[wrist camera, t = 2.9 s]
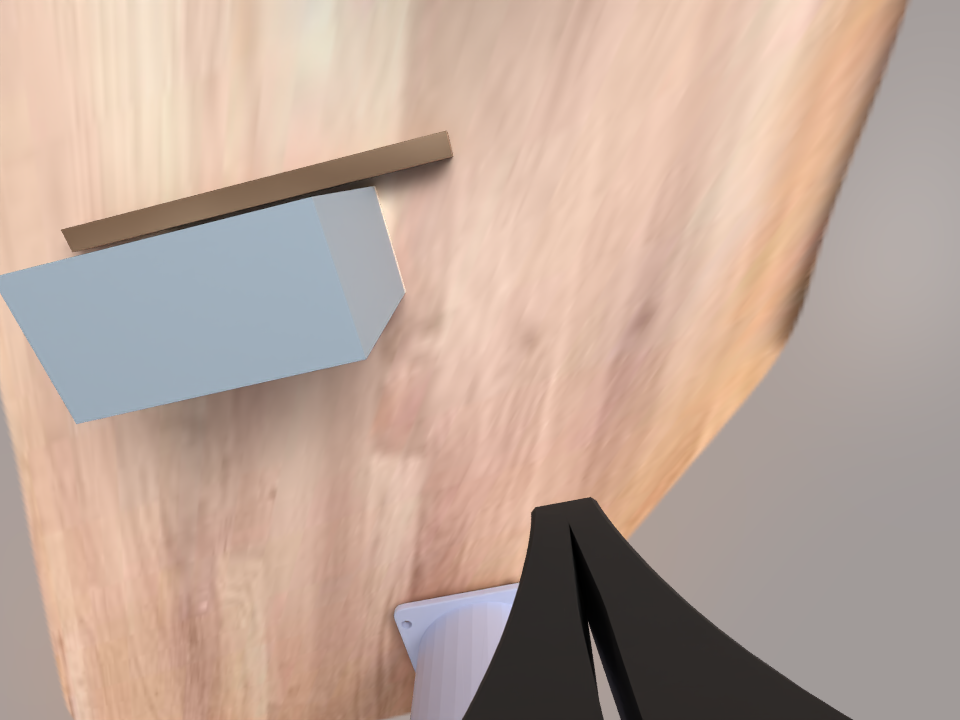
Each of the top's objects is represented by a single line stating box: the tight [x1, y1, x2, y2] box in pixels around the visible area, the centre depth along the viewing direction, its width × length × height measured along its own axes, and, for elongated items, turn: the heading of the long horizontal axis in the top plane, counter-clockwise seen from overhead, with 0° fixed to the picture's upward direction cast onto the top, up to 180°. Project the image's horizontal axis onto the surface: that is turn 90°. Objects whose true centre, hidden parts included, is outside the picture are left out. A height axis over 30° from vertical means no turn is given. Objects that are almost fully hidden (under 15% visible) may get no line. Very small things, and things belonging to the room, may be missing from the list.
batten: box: [61, 131, 453, 252], centre depth 18 cm, size 1×14×1 cm, turn 104°
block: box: [0, 186, 406, 424], centre depth 16 cm, size 4×8×8 cm, turn 103°
